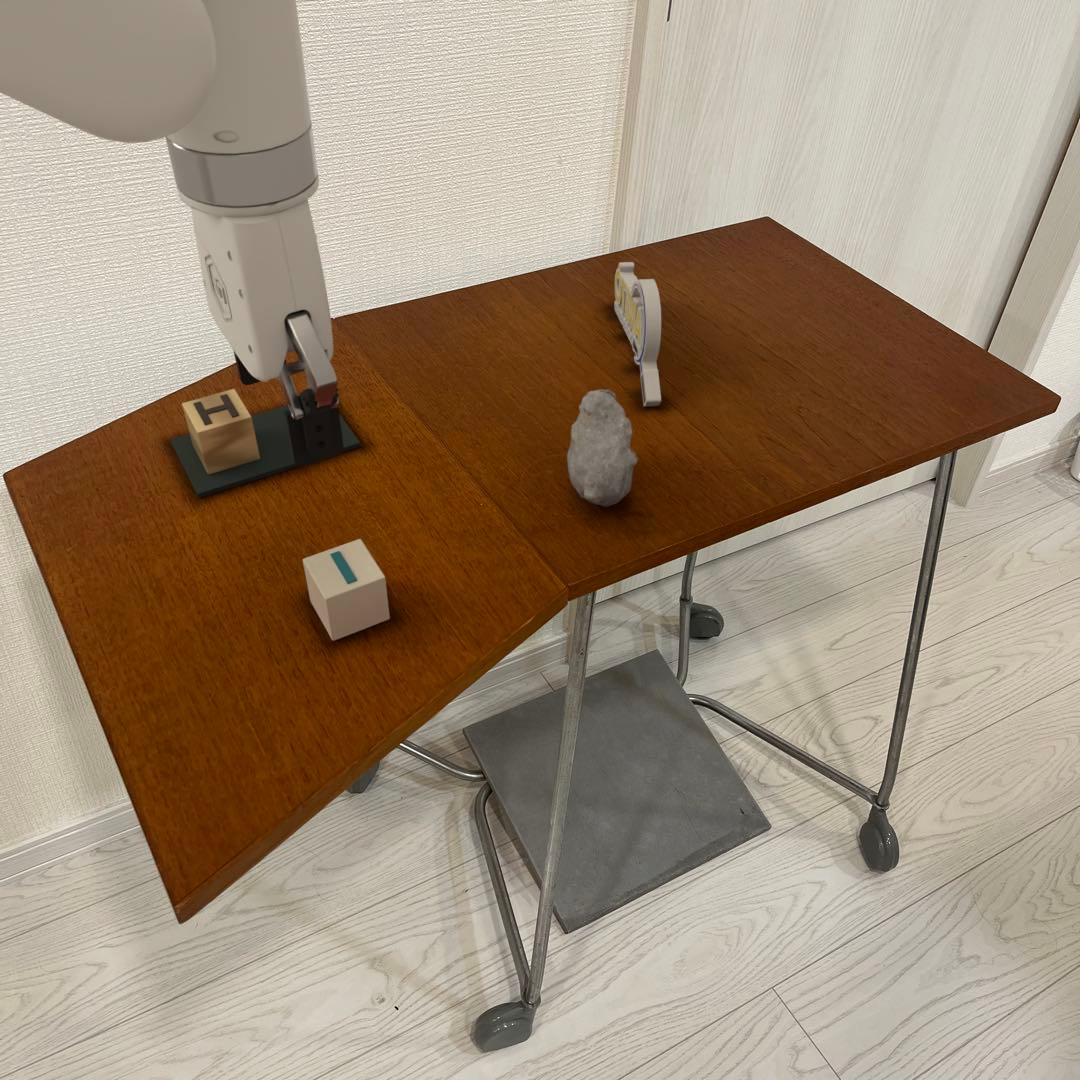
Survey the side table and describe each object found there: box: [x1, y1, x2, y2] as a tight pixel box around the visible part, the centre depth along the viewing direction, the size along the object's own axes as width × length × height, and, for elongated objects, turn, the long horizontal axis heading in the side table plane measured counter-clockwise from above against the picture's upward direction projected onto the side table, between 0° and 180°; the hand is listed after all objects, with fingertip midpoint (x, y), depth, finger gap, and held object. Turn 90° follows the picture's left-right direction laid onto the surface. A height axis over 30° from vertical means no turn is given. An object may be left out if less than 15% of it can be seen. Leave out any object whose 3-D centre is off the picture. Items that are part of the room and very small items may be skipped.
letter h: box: [181, 388, 260, 475], centre depth 83 cm, size 4×4×4 cm
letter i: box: [302, 538, 391, 642], centre depth 72 cm, size 4×4×4 cm
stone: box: [566, 389, 639, 508], centre depth 80 cm, size 9×7×10 cm
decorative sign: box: [613, 261, 662, 407], centre depth 96 cm, size 18×1×10 cm, turn 6°
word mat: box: [169, 404, 361, 499], centre depth 86 cm, size 14×8×1 cm, turn 120°
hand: (290, 416), depth 66 cm, fingers open, 9 cm apart
